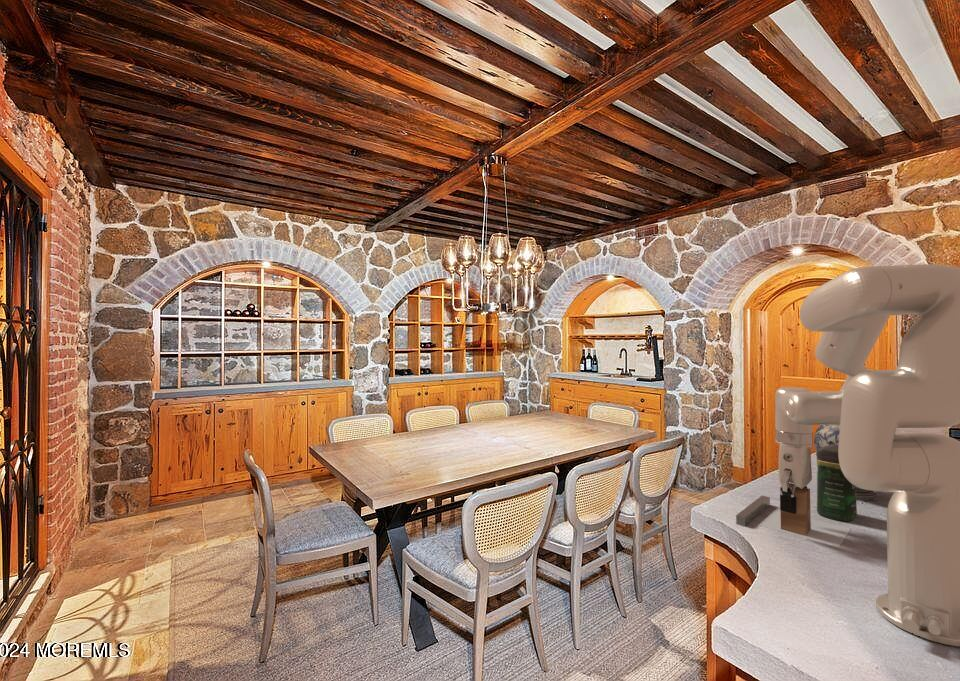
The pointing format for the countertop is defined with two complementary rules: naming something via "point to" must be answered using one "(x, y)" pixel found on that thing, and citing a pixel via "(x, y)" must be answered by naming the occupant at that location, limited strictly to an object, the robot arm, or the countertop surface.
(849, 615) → the countertop surface
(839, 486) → the coffee jar
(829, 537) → the mat
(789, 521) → the walnut block
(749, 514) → the steel bar
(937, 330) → the robot arm
